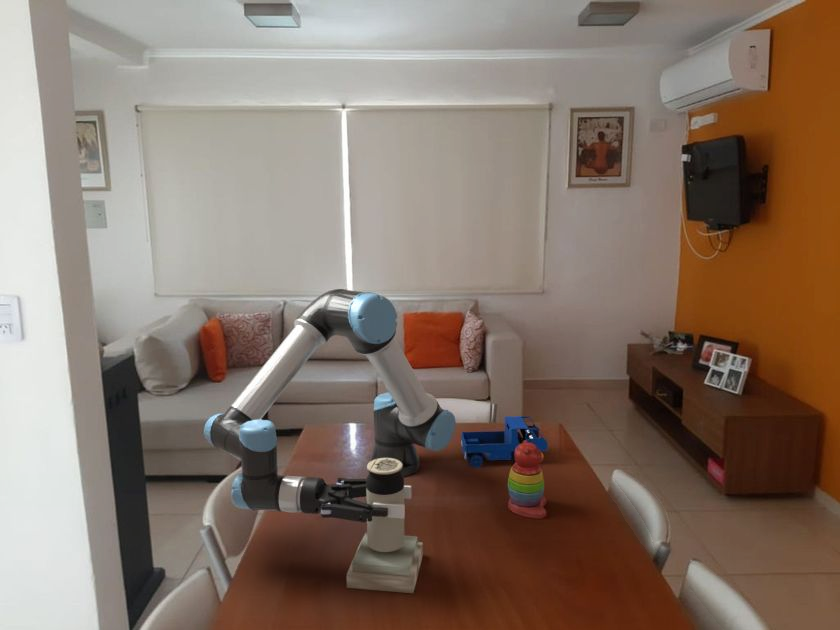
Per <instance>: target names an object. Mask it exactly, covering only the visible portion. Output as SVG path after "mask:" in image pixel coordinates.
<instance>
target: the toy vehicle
mask: <svg viewBox="0 0 840 630" xmlns="http://www.w3.org/2000/svg"><path fill="white" fill-rule="evenodd" d="M524 419H529V420H530V422H531V423H532V425H528V424H527V423H526V421H525V420H524ZM519 430H520V432H519ZM460 438H461V439H460V440H461V446H460V447H461V450H462V454H463V457H464V460H465V461H466V462H467V461H469V464H470V466H471V467H472V468H480V467H481V466H483V464H484V460H483V458H486V460H487V461H503V460H507V461H508V460H511V459H512V457H513V462H514V464H515V463H516V460H515V455H514V453H515V449H516V447H517V446H518V445H520V444H522V443H523V441H524V440H527V443H532V444H534V445H536V447H537V448H538V449H539V450H540V451H541V452H548V445H549V443H548V440H547V439H545V438H544V436H543V435H542V434H541V432H540V428H539V427H537V426H536V424H535V423H534V421H533V420H532V419H531V417H530V416H528V415H526V416H525V415H521V416H510V415H509V416H504V430H492V431H489V430H487V431H484V430H482V431H461V437H460ZM468 458H469V460H468Z"/></svg>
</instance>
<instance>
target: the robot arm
mask: <svg viewBox="0 0 840 630" xmlns="http://www.w3.org/2000/svg"><path fill="white" fill-rule="evenodd" d="M397 319H398V314H397V310H396V308H395V305H394V304H393V302H391V301H390V299H388V297H385V296H383V295H380V294H378V293H375V292H370V291H369V292H368V291H367V292H366V291H357V290H348V289H344V288H336V289H331V290H328V291H326V292H324V293H323V294H321V295H319V296H318V297H316V298H315V299H314V300H313V301H311V303H310V304H308V305H307V306H306V307H305V308H304V309H303V311H302V312H301V313H299V315H298V316H297V317H296V318H295V320H294V321H293V324H294V328H293V329H292V330H291V331H290V332H289V334H288V335H287V336H286V337H285V338H284V340H283V341H282V342H281V344H280V345H279V346H278V347H277V348H276V349H275V351H274V352H273V353H272V355H271V356H270V357H269V358H268V360H267V361H266V362H265V363H264V364H263V366H262V367H261V368H260V369H259V371H257V373H256V374H255V375H254V377H253V378H252V379H251V381H250V382H249V383H248V385H247V386H245V387H244V389H243V391H241V393H239V395H238V396H237V397H236V399H235V400H234V402H232V403H231V405H230V406H229V407H228V409H227V410H226V411H225V412H224V413H216V414H214V415H212V416H211V417H210V418H209V419H208V420H207V421H206V423H205V424H204V428H203V435H204V438H205V440H206V441H207V442H208V443H209V444H210V445H212V446H213V447H214V448H215V449H217V450H219V451H223V452H224V453H225V454H228V455H230V456H232V457H234V458H235V459H237V460H239V461H241V471H242V472H241V473H239V474H237V475H236V476H235V477H234V479H233V481H232V483H231V484H232V485H231V492H230V497H231V502H232V504H233V506H234V507H236V508H239V509H243V510H244V509H245V510H251V511H272V512H273V511H275V512H287V513H290V514H294V513H301V512H302V513H303V514H311V515H318V514H320V516H321V518H323V519H325V518H327V519H329V518H334V519H337V520H338V519H341V520H346V521H351V522H357V523H367V519H368V522H370V521H372V516H375V517H389V518H404V519H405V518H406V517H405V516H406V514H405V513H406V511H405V510H406V509H405V507H406V506H405V503H404V504H389V503H373V507H372V505H370V504H367V502H363V501H359V500H356V499H358V498H364V497H366V498H367V494H366V479H367V478H346V477H345V478H344V477H337V482H336V483H331V484H330V483H329V484H327V483H326V482H325V480H324V478H322V477H312V476H311V477H310V476H307V477H306V478H305V476H295V475H282V474H279V469H278V438H277V432H276V426H275V424H274V423H273V422H272V421H270V420H268V419H262V418H263V417H264V416H265V415H266V413H268V411H269V410H270V409H271V407H272V406H273V404H275V402H276V401H277V400H278V398H279V397H280V396H281V394H282V393H283V392H284V391H285V389H286V388H287V387H288V386H289V384H290V383H291V381H292V380H293V379H294V378H295V376H297V374H298V373H299V371H300V370H301V369H302V367H304V365H305V364H306V362H307V361H308V360H309V359H310V357H311V356H312V355H313V353H315V351H316V350H317V348H319V346H324V345H326V344H327V342H328V341H329V340H330V339H331V338H332V337H334V336H341V337H344V338H347V339H348V341H349V342H350V344H351V345H352V347H353V348H354V351H356V353H358V354H359V355H362V356H365V357H366V358H367V360H368V361H369V363H370V365H371V366H372V368H373V370H374V371H375V372H376V374H377V376H378V377H379V379H380V381H381V382H382V384H383V385H384V387H385V388H386V391H387V392H384V393H381V394H378V395H377V396H376V397H375V399H374V402H373V426H374V429H373V430H374V443H373V444H374V445H373V447H372V450H371V453H370V457H369V461H368V463H369V462H371V461H372V460H375V459H379V458H393V459H397V460H399V461H400V462H401V463H402V464H403V467H402V469H401V474H402V476H403V477H408V476H410V475H413V474H414V473H416V472H417V471H418V470H419V469H420V457H419V455H418V452H417V449H416V446H415V445H417V446H418V447H422V448H425V449H426V450H428V451H434V452H438V451H441V450H443V449H445V448H446V447H447V446H448V445H449V443H451V440H452V439H453V436H454V433H455V429H456V417H455V415H454V413H453V412H452V411H450V410H449V409H443V408H442V407H441V406H440V405H441V404H440V403H439V401H438V400H437V399H436V397H435V396H434V395H432V394H431V393H428V392H426V390H425V389H424V387H423V385H422V383H421V380H419V377H418V376H417V375H416V373H415V370H414V369H413V368H412V366H411V364H410V363H409V362H410V361H408V359H407V357H406V355H405V354H404V351H403V349H402V348H401V347H400V344H399V342H398V341H397V339H396V338H395V337H396V335H397V327H398V321H396V320H397ZM411 499H412V485H405V484H404V500H411Z"/></svg>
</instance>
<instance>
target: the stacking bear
mask: <svg viewBox="0 0 840 630" xmlns="http://www.w3.org/2000/svg"><path fill="white" fill-rule="evenodd" d="M514 455H515V460H516V463H515V462H514V464H513V465H512V466H511V467H510V470H509V475H508V478H507V491H508V496H509V500H508V502H507V503H508V504H507V506H508V509H509V510H510V511H511V512H512V513H514V514H516V515H518V516H521V517H526V518H529V519H540V520H541V519H544V518H546V517H547V510H546V509H545V508H544V506H546V505H547V498H546V497H545V496H544V493H545V492H544V491H545V479H544V473H543V471H542V467H541V466H540V465H541V463H542V462H543V460H544V458H545V455H544V454H543V451H540V450H539V449H538V448H537V447H536V445H534V444H532V443H527V440H524V441H523V443H522V444H520V445H518V446H517V447H516V449H515V453H514Z"/></svg>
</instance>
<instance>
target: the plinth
mask: <svg viewBox="0 0 840 630" xmlns="http://www.w3.org/2000/svg"><path fill="white" fill-rule="evenodd" d="M404 538H405V542H404V545H403V546H402V547H401V548H399V549H397V550H395V551H391V552H379V551H375V550H373V549H371V548H370V547H369V546H368V541H367V532H365V533H364V535H363V537H362V538H361V541H360V542H359V544H358V545H359V546H358V547H357V550H356V552H355V554H354V557H353V559H352V561H351V564H350V566H349V568H348V570H347V572H346V575H345V576H346V588H348V589H359V590H369V591H370V590H371V591H381V592H392V593H395V592H396V593H405V594H414V593H415V592H414V591H415V589H416V585H417V580H418V576H419V572H420V569H421V563H422V559H423V555H424V548H423V547H424V543H423V542H422V541H421V542H419V538H418V536H416V535H404Z"/></svg>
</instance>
